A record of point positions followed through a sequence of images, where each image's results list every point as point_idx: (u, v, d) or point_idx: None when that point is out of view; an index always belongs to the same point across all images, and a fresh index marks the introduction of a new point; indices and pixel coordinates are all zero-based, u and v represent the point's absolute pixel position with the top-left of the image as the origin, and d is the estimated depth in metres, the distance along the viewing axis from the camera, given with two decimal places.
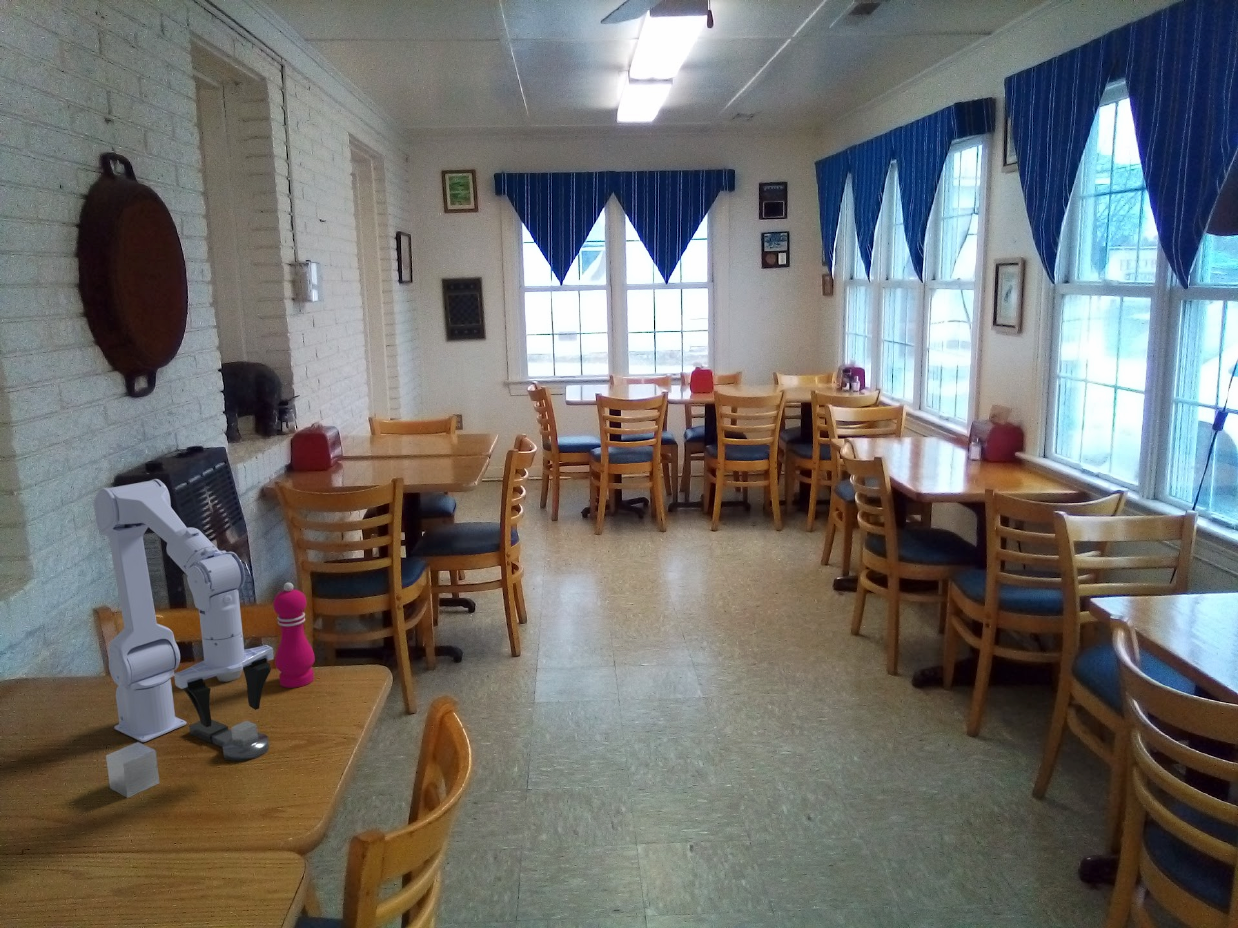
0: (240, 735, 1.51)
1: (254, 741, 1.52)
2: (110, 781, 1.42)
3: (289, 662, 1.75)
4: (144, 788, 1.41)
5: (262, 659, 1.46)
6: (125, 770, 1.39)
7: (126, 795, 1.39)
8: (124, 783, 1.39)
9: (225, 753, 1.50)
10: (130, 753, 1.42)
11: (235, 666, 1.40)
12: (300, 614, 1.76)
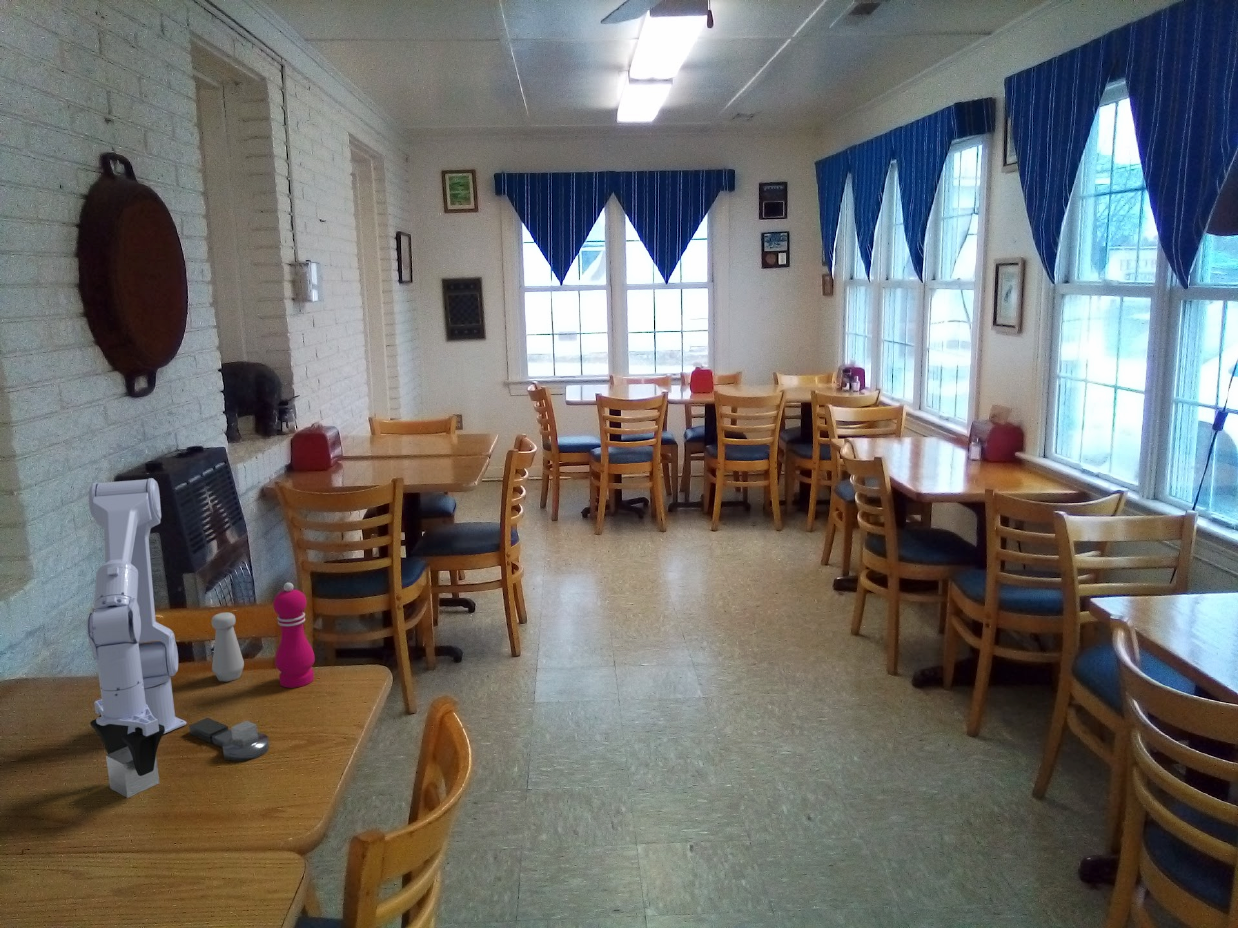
0: (240, 735, 1.51)
1: (254, 741, 1.52)
2: (110, 781, 1.42)
3: (289, 662, 1.75)
4: (144, 788, 1.41)
5: (142, 730, 1.37)
6: (125, 770, 1.39)
7: (126, 795, 1.39)
8: (124, 783, 1.39)
9: (225, 753, 1.50)
10: (130, 753, 1.42)
11: (101, 719, 1.37)
12: (300, 614, 1.76)
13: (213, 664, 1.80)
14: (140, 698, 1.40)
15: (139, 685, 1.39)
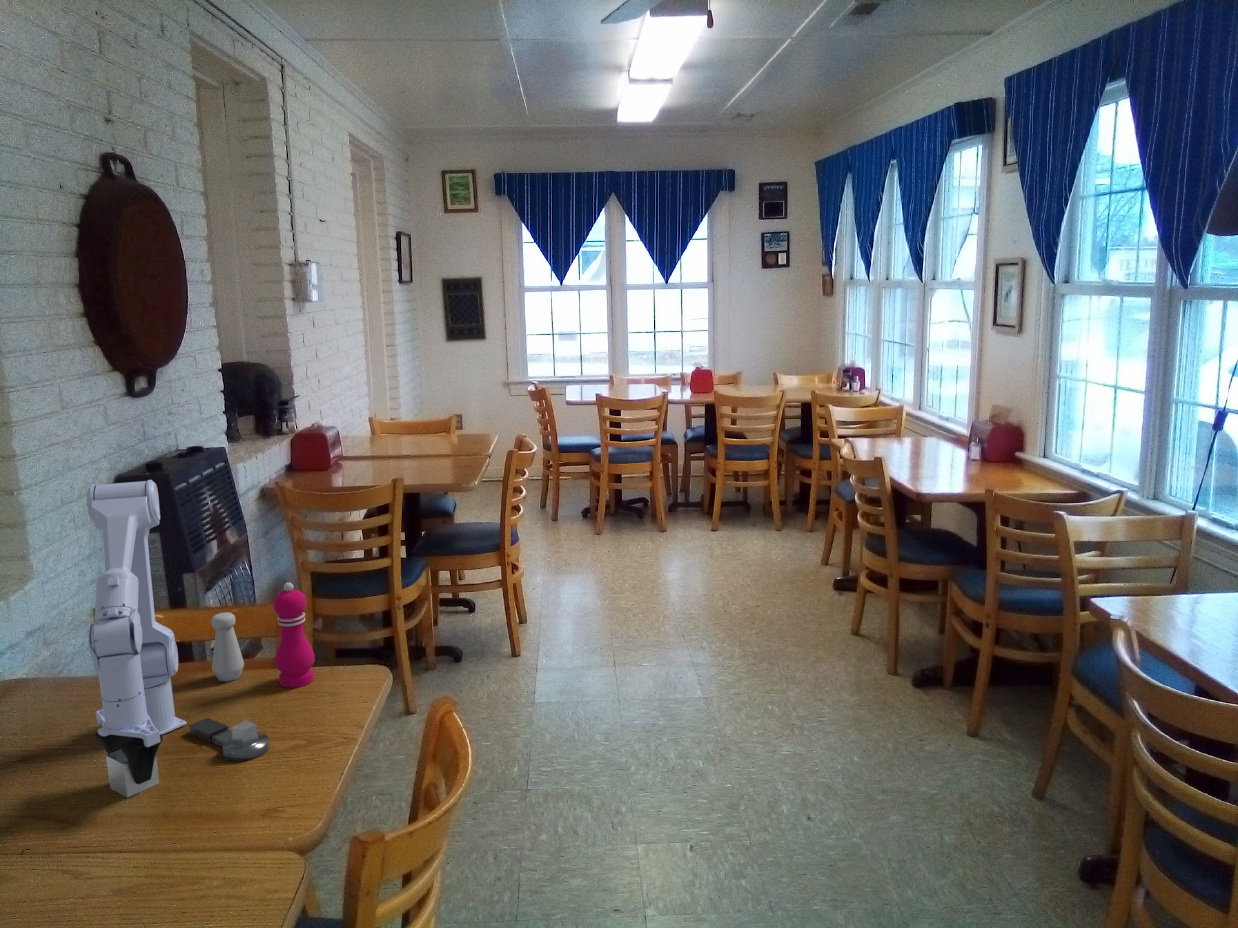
0: (240, 735, 1.51)
1: (254, 741, 1.52)
2: (110, 781, 1.42)
3: (289, 662, 1.75)
4: (144, 788, 1.41)
5: (140, 739, 1.38)
6: (125, 770, 1.39)
7: (126, 795, 1.39)
8: (124, 783, 1.39)
9: (225, 753, 1.50)
10: None
11: (102, 730, 1.38)
12: (300, 614, 1.76)
13: (213, 664, 1.80)
14: (141, 709, 1.40)
15: (140, 696, 1.40)
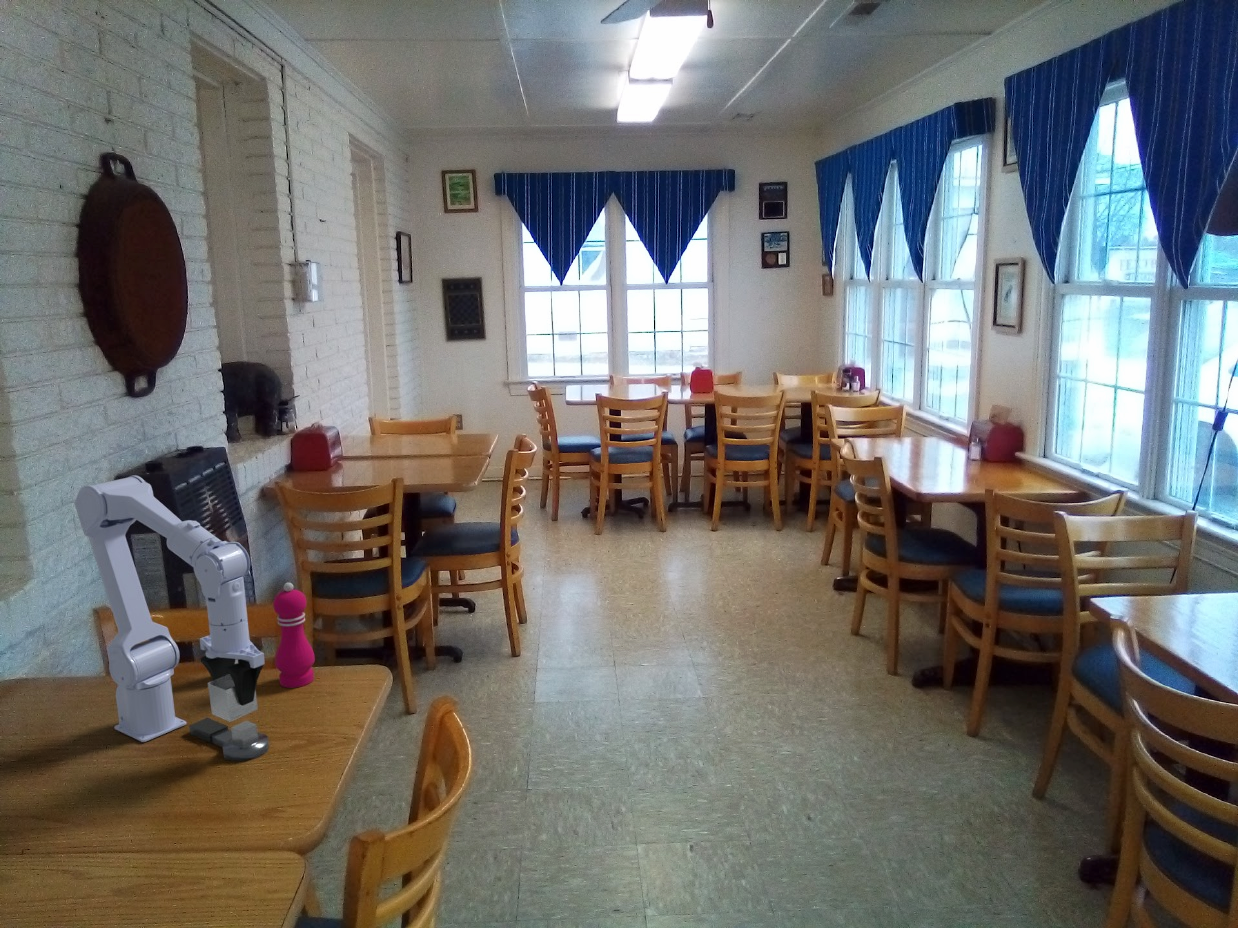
0: (240, 735, 1.51)
1: (254, 741, 1.52)
2: (212, 707, 1.50)
3: (289, 662, 1.75)
4: (244, 713, 1.49)
5: (245, 661, 1.46)
6: (227, 696, 1.46)
7: (229, 719, 1.47)
8: (226, 708, 1.47)
9: (225, 753, 1.50)
10: (230, 681, 1.49)
11: (210, 652, 1.46)
12: (300, 614, 1.76)
13: None
14: (245, 634, 1.48)
15: (245, 621, 1.48)
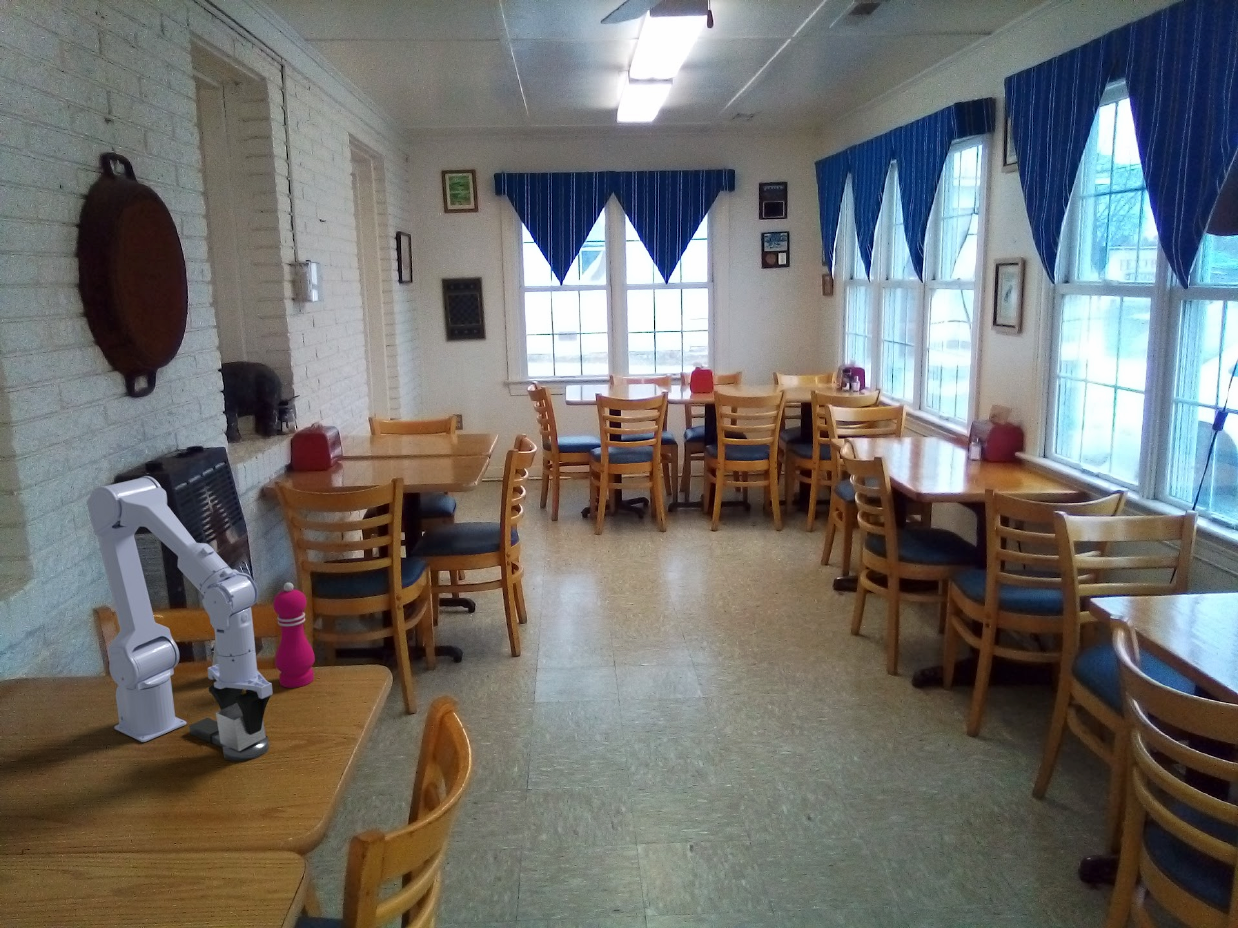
0: None
1: None
2: (220, 736, 1.51)
3: (289, 662, 1.75)
4: (253, 742, 1.51)
5: (253, 691, 1.48)
6: (236, 726, 1.48)
7: (237, 749, 1.49)
8: (235, 737, 1.49)
9: (225, 753, 1.50)
10: (238, 710, 1.51)
11: (218, 683, 1.48)
12: (300, 614, 1.76)
13: (213, 664, 1.80)
14: (253, 664, 1.50)
15: (252, 652, 1.49)
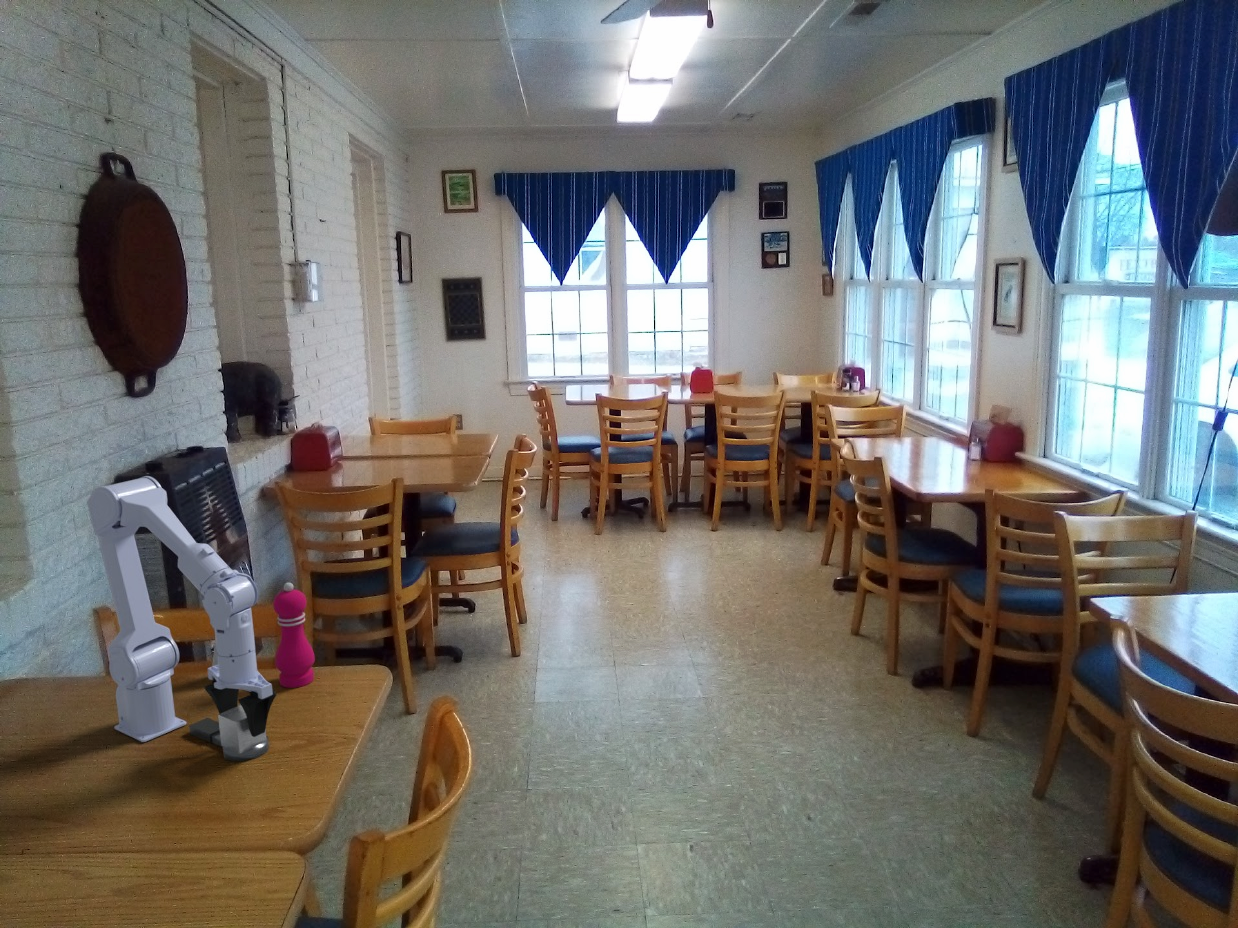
0: None
1: None
2: (222, 739, 1.51)
3: (289, 662, 1.75)
4: (253, 745, 1.51)
5: (257, 693, 1.47)
6: (237, 728, 1.48)
7: (238, 751, 1.49)
8: (236, 740, 1.49)
9: (225, 753, 1.50)
10: (240, 712, 1.51)
11: (218, 683, 1.48)
12: (300, 614, 1.76)
13: (213, 664, 1.80)
14: (253, 664, 1.50)
15: (252, 652, 1.49)
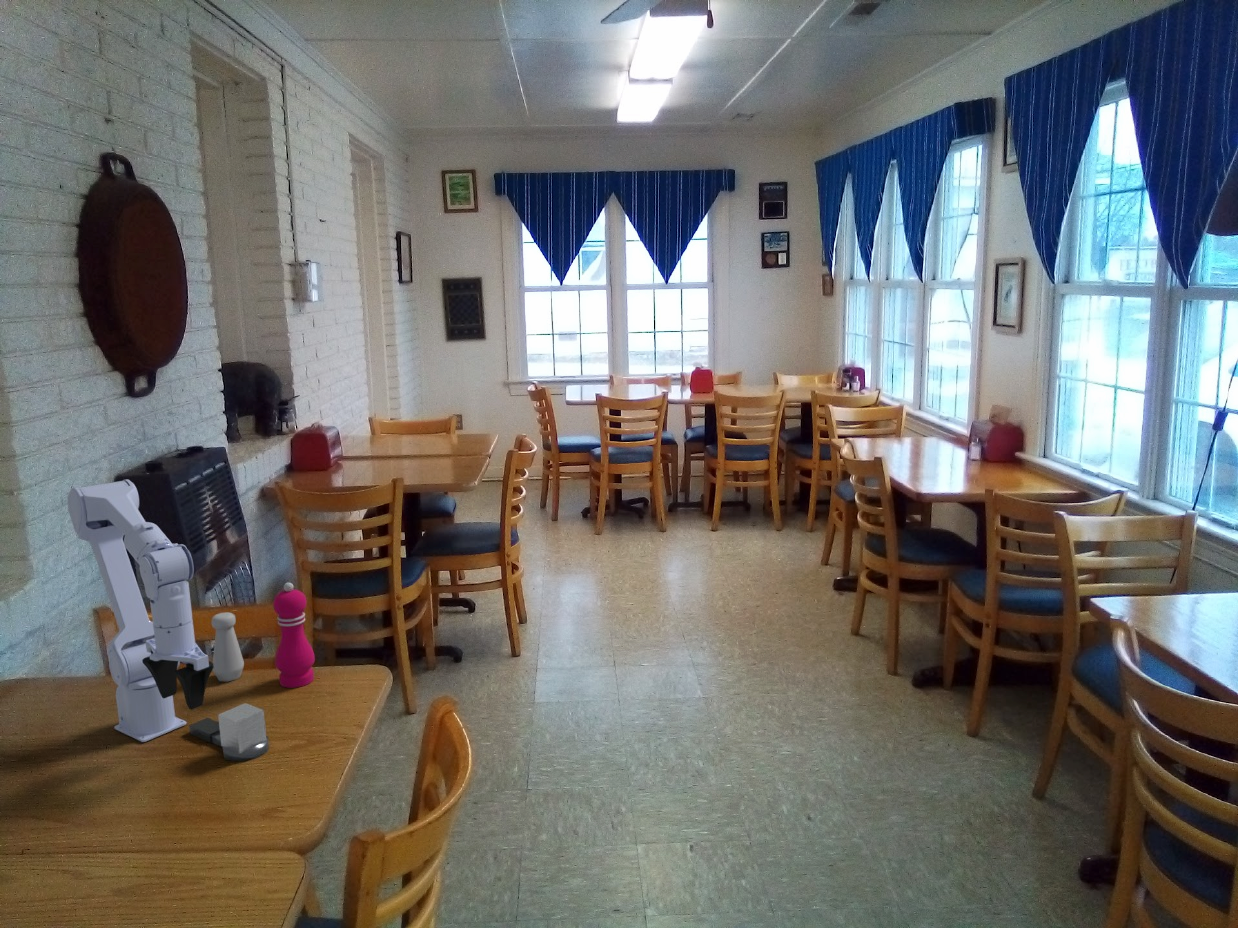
0: None
1: None
2: (222, 739, 1.51)
3: (289, 662, 1.75)
4: (253, 745, 1.51)
5: (193, 665, 1.45)
6: (237, 728, 1.48)
7: (238, 751, 1.49)
8: (236, 740, 1.49)
9: (225, 753, 1.50)
10: (240, 712, 1.51)
11: (154, 655, 1.46)
12: (300, 614, 1.76)
13: (213, 664, 1.80)
14: (190, 636, 1.48)
15: (189, 624, 1.47)
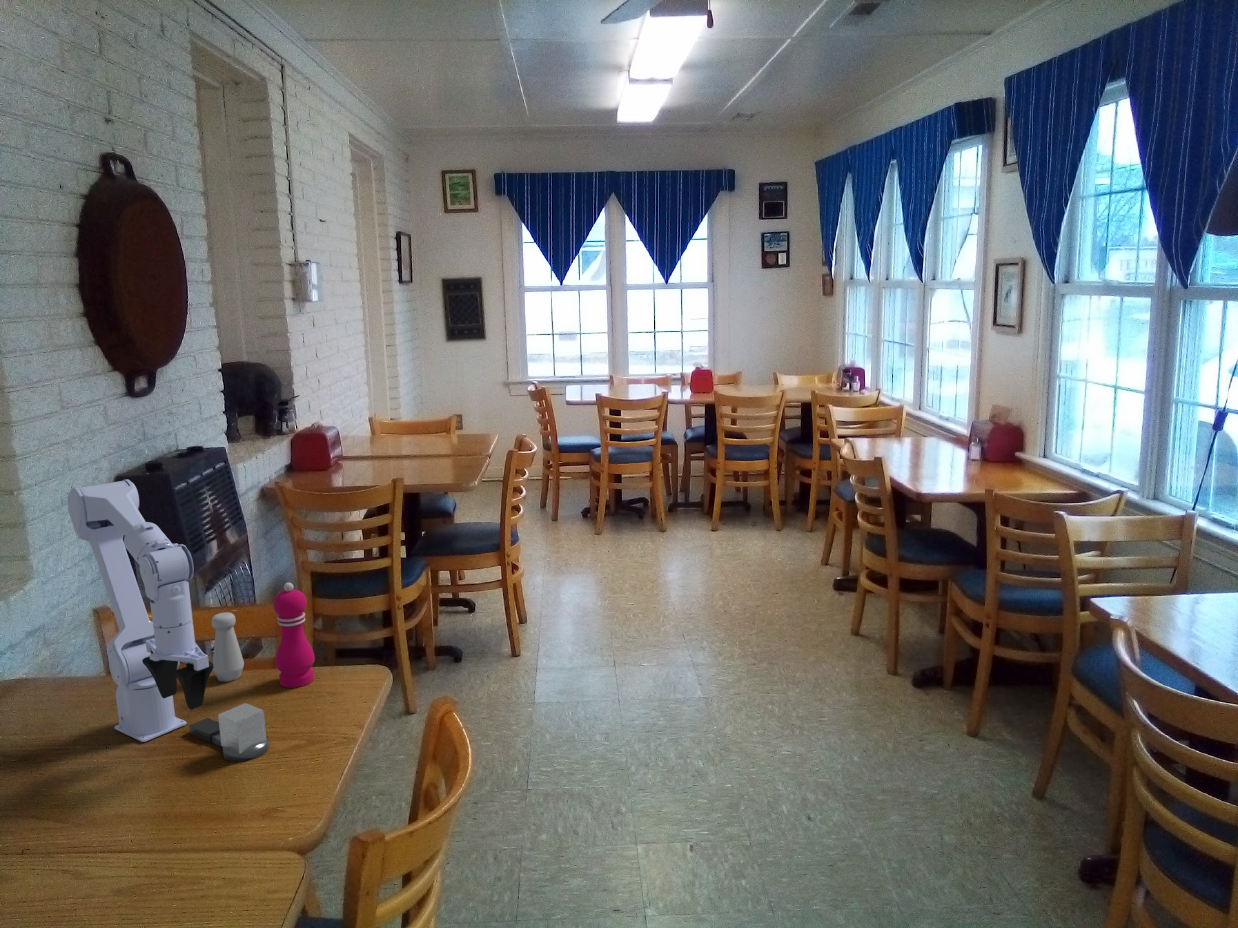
0: None
1: None
2: (222, 739, 1.51)
3: (289, 662, 1.75)
4: (253, 745, 1.51)
5: (193, 665, 1.45)
6: (237, 728, 1.48)
7: (238, 751, 1.49)
8: (236, 740, 1.49)
9: (225, 753, 1.50)
10: (240, 712, 1.51)
11: (154, 655, 1.46)
12: (300, 614, 1.76)
13: (213, 664, 1.80)
14: (190, 636, 1.48)
15: (189, 624, 1.47)
